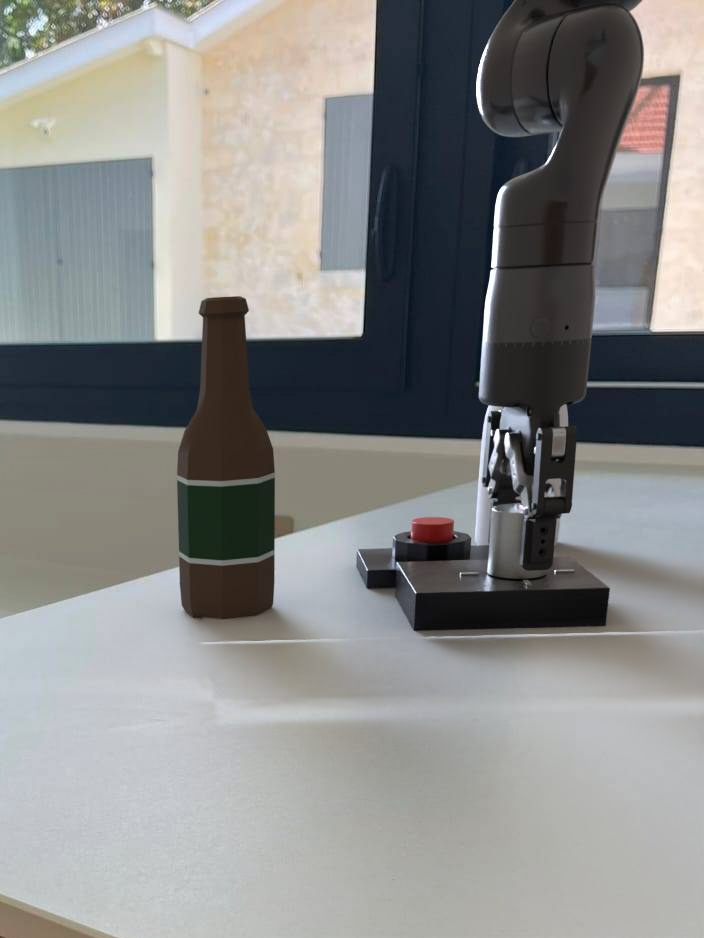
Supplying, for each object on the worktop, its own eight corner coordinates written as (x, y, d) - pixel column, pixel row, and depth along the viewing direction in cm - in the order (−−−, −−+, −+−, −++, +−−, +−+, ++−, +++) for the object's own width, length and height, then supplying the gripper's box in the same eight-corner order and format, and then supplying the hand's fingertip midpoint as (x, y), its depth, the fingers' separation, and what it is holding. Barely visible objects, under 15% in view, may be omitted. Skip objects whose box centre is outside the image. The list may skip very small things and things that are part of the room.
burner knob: (481, 568, 97) (486, 500, 95) (537, 565, 97) (543, 498, 95) (495, 580, 93) (500, 510, 91) (553, 578, 93) (560, 507, 91)
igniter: (488, 563, 112) (491, 525, 111) (509, 585, 104) (513, 544, 103) (356, 567, 114) (357, 529, 112) (366, 589, 105) (368, 549, 104)
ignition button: (449, 536, 109) (450, 516, 108) (456, 544, 106) (457, 523, 105) (408, 537, 109) (408, 517, 109) (413, 545, 106) (414, 525, 105)
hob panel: (567, 592, 101) (571, 554, 100) (605, 627, 91) (610, 585, 90) (394, 597, 102) (396, 559, 101) (413, 632, 92) (415, 590, 91)
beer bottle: (272, 621, 97) (273, 295, 88) (174, 621, 99) (165, 300, 89) (276, 597, 104) (277, 293, 95) (185, 598, 106) (178, 298, 96)
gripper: (626, 335, 82) (600, 575, 88) (556, 328, 95) (538, 538, 101) (513, 341, 82) (495, 580, 88) (459, 333, 95) (446, 542, 101)
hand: (518, 557), depth 95 cm, fingers open, 8 cm apart
